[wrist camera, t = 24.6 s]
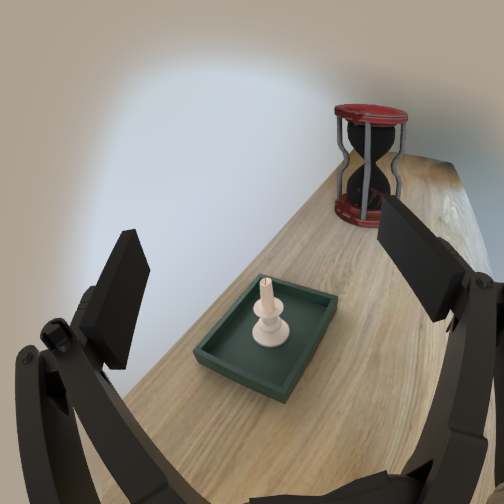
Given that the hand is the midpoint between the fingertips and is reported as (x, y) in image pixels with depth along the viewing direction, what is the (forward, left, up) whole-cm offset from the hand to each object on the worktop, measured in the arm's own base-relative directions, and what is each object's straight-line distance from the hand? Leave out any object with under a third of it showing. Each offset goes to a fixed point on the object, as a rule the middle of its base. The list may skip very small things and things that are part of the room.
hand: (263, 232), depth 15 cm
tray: (-1, +14, -26) cm, 29 cm away
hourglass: (+24, +48, -26) cm, 60 cm away
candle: (-1, +14, -25) cm, 29 cm away
